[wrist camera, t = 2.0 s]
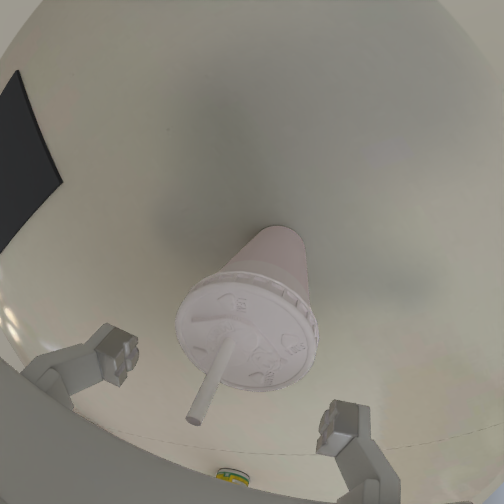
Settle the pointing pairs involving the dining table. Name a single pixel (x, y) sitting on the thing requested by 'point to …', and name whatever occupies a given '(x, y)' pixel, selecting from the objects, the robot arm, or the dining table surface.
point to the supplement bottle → (233, 477)
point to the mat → (21, 162)
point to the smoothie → (251, 320)
